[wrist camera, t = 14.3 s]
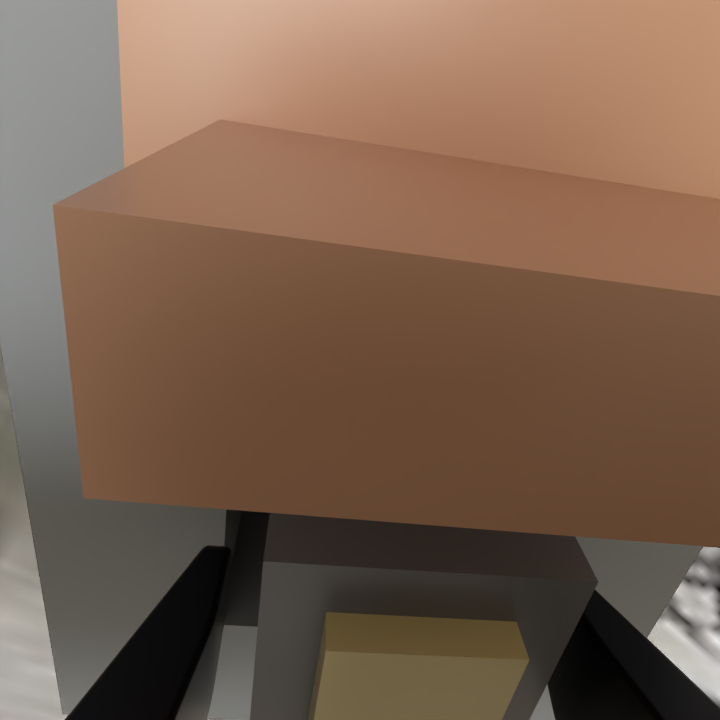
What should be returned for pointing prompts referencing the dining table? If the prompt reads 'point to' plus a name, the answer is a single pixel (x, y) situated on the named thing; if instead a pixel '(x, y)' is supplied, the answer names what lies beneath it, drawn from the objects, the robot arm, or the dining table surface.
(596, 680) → the robot arm
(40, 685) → the dining table surface
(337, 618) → the grey rectangular block
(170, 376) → the shutter
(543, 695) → the socket
